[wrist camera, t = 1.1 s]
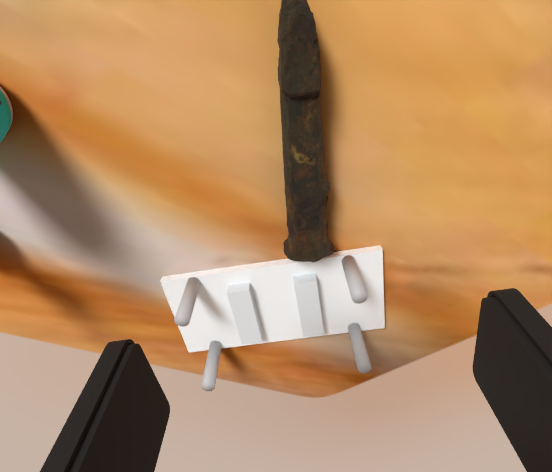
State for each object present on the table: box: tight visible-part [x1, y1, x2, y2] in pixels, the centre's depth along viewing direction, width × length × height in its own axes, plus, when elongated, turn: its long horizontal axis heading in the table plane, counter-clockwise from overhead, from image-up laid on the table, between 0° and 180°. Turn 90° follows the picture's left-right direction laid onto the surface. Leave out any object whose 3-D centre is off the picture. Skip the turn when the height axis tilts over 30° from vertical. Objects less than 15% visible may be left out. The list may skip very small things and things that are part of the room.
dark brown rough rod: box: [278, 0, 334, 262], centre depth 26 cm, size 19×4×5 cm, turn 3°
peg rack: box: [160, 246, 385, 391], centre depth 33 cm, size 20×9×6 cm, turn 100°
